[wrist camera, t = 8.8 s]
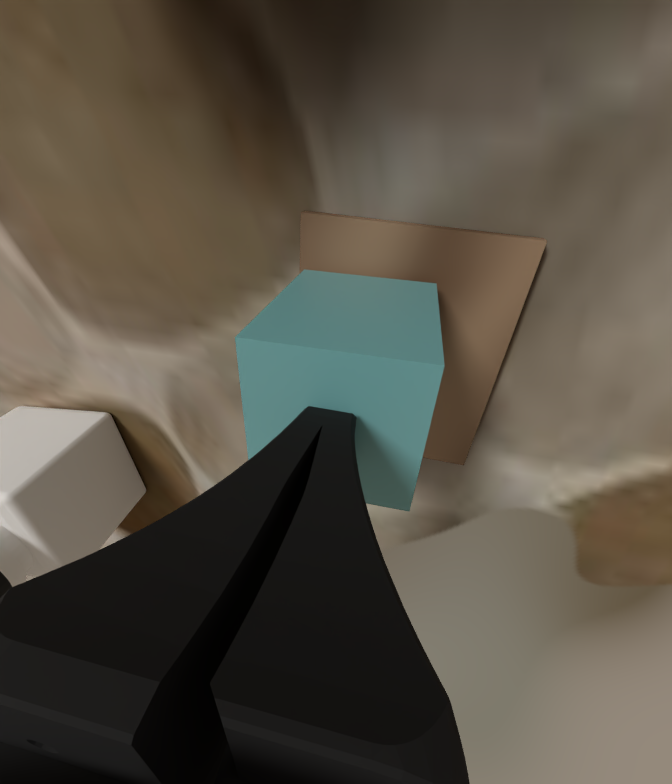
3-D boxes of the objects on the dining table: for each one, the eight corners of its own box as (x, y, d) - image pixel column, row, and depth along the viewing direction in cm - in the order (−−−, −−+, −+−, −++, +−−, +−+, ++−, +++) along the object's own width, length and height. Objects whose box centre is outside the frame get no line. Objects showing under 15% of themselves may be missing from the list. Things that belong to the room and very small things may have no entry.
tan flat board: (543, 238, 13) (547, 240, 13) (462, 458, 20) (463, 465, 19) (304, 210, 15) (300, 212, 14) (298, 427, 21) (296, 433, 20)
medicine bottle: (18, 403, 24) (-258, 574, 14) (112, 410, 23) (-124, 604, 13) (67, 481, 28) (-126, 658, 18) (150, 491, 27) (-11, 689, 17)
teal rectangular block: (436, 283, 14) (444, 365, 9) (414, 396, 17) (409, 511, 12) (304, 269, 15) (234, 337, 9) (304, 380, 18) (250, 481, 12)
